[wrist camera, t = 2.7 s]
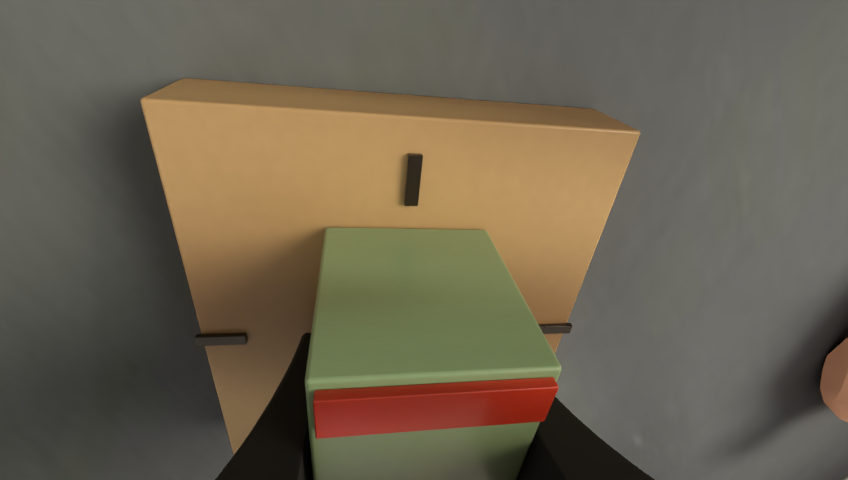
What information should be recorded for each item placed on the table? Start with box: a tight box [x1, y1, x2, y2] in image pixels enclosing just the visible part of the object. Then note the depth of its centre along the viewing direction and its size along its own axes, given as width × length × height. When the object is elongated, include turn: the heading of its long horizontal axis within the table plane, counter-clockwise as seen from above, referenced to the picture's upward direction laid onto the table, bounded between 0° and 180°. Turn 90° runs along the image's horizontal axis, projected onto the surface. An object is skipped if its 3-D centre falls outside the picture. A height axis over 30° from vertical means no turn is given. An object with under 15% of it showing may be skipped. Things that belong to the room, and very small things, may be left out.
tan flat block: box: [140, 78, 640, 455], centre depth 14 cm, size 14×12×3 cm
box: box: [305, 227, 561, 480], centre depth 11 cm, size 8×4×5 cm, turn 174°
